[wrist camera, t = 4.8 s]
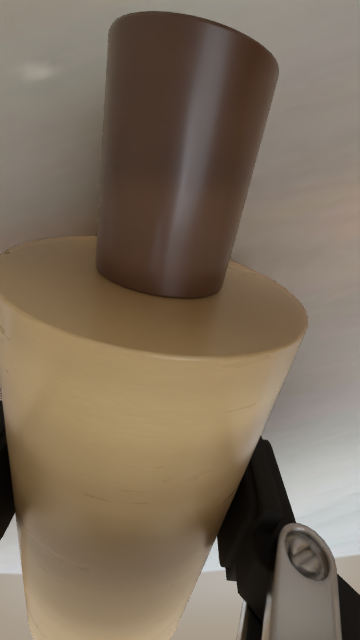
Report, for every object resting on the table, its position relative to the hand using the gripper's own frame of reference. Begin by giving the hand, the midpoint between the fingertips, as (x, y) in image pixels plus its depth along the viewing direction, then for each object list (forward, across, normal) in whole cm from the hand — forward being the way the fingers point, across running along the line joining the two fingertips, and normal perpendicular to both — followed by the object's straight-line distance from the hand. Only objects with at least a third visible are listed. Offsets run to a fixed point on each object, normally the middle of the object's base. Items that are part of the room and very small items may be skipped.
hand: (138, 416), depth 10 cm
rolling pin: (+1, 0, 0) cm, 1 cm away
